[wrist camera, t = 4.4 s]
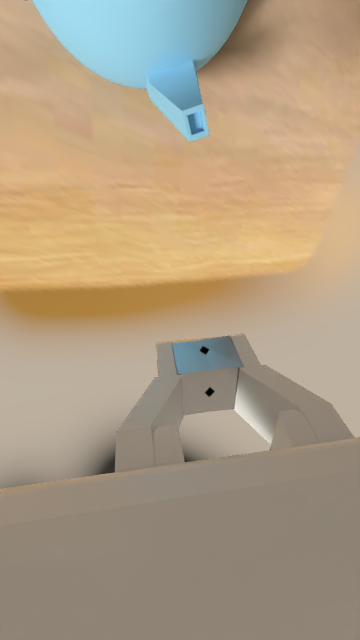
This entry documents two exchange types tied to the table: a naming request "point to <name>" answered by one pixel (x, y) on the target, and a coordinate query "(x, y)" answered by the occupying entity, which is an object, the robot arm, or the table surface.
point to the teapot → (148, 46)
